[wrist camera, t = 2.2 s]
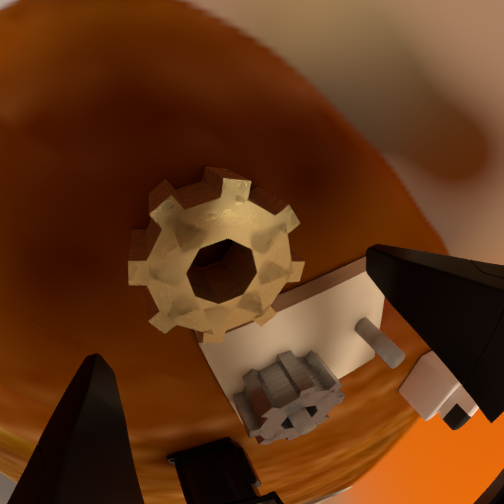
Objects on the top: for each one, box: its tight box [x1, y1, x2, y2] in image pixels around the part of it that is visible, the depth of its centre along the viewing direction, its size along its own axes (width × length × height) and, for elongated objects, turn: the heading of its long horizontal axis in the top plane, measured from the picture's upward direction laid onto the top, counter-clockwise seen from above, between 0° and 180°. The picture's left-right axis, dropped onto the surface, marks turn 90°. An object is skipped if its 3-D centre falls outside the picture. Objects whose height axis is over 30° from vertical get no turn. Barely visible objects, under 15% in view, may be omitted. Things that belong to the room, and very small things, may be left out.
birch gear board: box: [195, 256, 405, 435], centre depth 15 cm, size 12×10×5 cm
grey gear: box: [233, 350, 345, 445], centre depth 16 cm, size 6×6×3 cm
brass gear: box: [128, 166, 305, 344], centre depth 11 cm, size 6×6×3 cm
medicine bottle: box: [398, 350, 479, 430], centre depth 27 cm, size 7×7×12 cm
